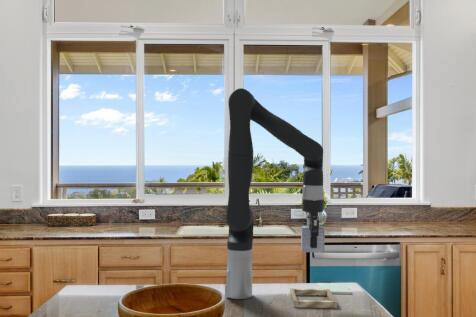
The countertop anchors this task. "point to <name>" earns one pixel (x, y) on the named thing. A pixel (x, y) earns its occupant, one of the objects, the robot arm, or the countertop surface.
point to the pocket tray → (311, 303)
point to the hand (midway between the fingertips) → (312, 246)
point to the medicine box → (306, 240)
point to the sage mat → (335, 288)
